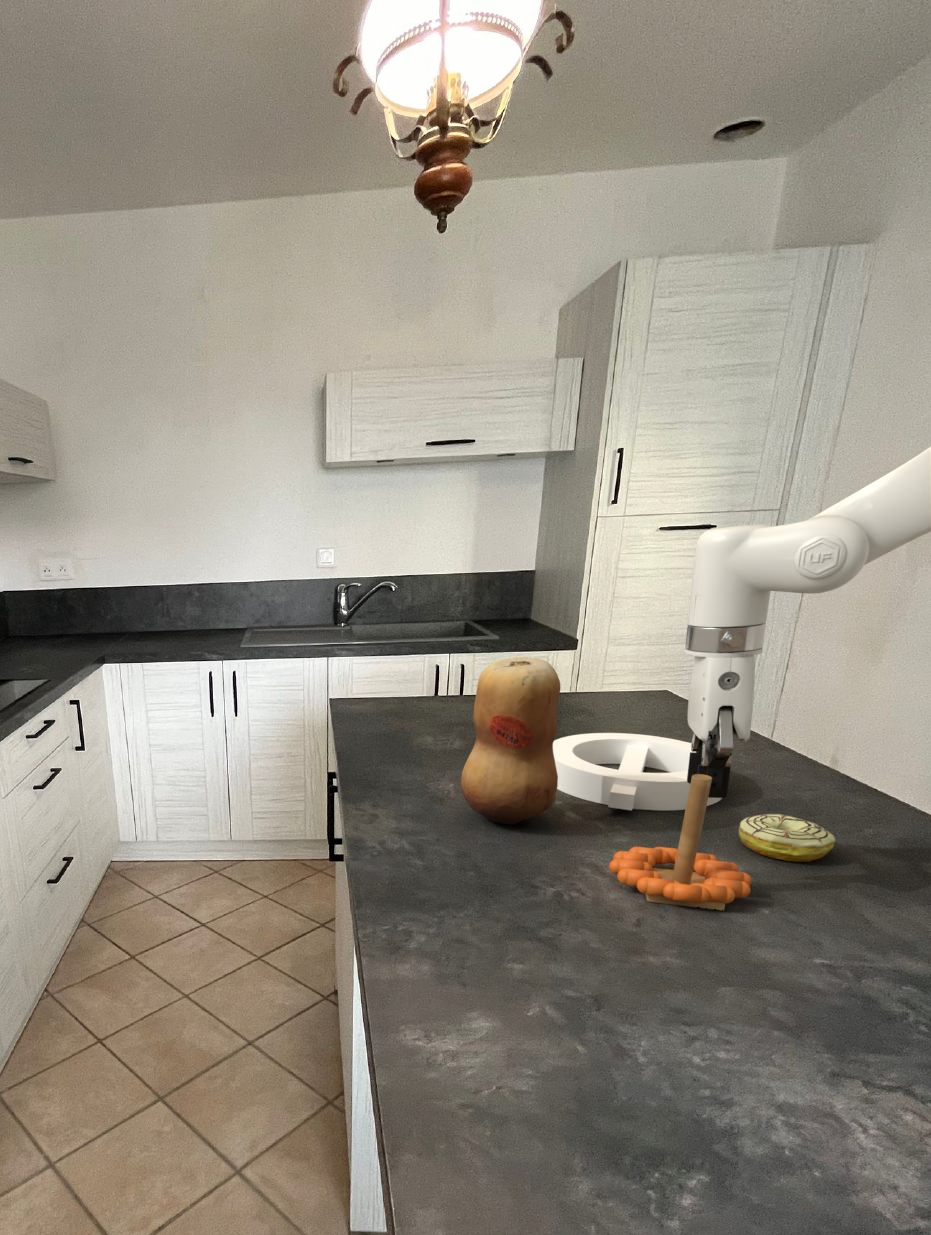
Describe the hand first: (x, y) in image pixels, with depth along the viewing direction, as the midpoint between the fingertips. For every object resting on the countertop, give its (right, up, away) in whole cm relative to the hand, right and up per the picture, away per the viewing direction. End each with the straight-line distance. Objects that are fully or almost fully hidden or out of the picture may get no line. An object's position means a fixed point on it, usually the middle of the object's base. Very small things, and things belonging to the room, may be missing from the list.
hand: (706, 788), depth 89 cm
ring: (-3, -12, +1) cm, 12 cm away
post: (-3, -13, +1) cm, 13 cm away
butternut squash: (-16, -5, +23) cm, 29 cm away
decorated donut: (+17, -8, +10) cm, 22 cm away
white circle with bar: (+11, +2, +37) cm, 39 cm away
